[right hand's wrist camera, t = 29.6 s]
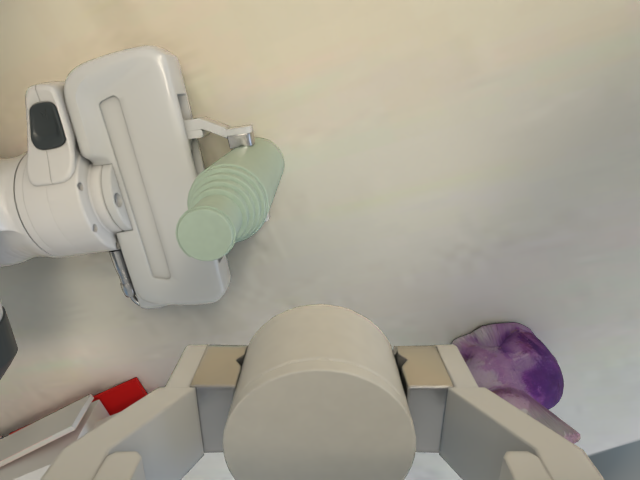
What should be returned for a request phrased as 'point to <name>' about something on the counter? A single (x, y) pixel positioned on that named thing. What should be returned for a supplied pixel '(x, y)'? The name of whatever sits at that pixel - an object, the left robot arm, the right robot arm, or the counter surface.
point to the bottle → (230, 200)
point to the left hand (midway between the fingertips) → (260, 173)
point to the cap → (319, 402)
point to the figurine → (517, 371)
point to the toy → (61, 431)
